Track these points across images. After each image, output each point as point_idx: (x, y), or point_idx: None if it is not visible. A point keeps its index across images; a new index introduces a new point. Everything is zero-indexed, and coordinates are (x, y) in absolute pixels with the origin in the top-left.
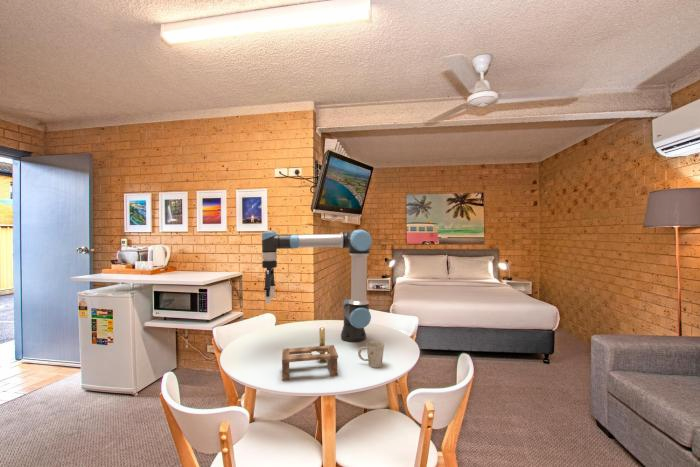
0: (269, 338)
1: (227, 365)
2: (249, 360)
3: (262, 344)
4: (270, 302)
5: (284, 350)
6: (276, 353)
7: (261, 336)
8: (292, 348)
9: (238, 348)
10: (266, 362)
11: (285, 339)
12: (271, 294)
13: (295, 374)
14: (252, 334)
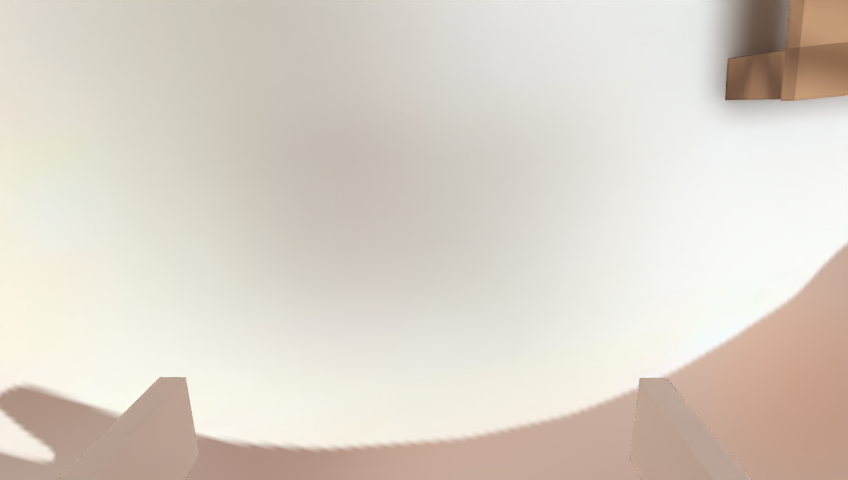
0: (151, 258)
1: (594, 399)
2: (544, 308)
3: (274, 283)
4: (667, 386)
5: (840, 80)
6: (452, 171)
7: (110, 315)
8: (813, 17)
9: (339, 402)
10: (595, 210)
11: (170, 144)
12: (155, 467)
13: None
14: (71, 377)
